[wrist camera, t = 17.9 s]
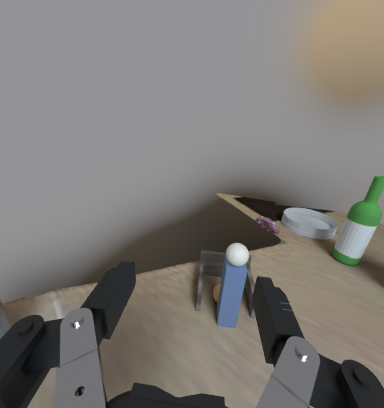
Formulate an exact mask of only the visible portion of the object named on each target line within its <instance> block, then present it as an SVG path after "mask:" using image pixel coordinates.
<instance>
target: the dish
mask: <svg viewBox="0 0 384 408" xmlns="http://www.w3.org/2000/svg"><path fill="white" fill-rule="evenodd" d="M281 222H282V224H283V225H284V226H285V227H286V228H287V229H289V230H290V231H292V232H294V233H297V234H299V235H302V236H305V237H309V238H313V239H331V238H333V237H334V235H335V233H336V229H337V226H338V224H337V222H336V221H335V220H334V219H332V218H331V217H329V216H327V215H325V214H323V213H320V212H317V211H313V210H309V209H304V208H288V209H286V210H285V211H284V214H283V216H282V220H281Z"/></svg>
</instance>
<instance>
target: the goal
mask: <svg viewBox="0 0 384 408" xmlns="http://www.w3.org/2000/svg"><path fill="white" fill-rule="evenodd" d="M225 256H226V253H222V252H213V251H204V250H201V258H200V269H199V280H198V291H197V302H196V310H197V311H200V305H201V296H202V280H203V275H208V276H217V277H222V272H223V265H224V259H225ZM250 262H251V256H250V255H249V258H248V261H247V262H246V263H245V264H246V268H247V276H246V281H245V285H244V286H245V292H246V297H247V302H248V307H249V312H250V317H251V318H255V311H254V307H253V291H254V287H255V285H254V282H253V278H252V274H251V270H250Z"/></svg>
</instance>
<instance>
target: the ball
mask: <svg viewBox="0 0 384 408" xmlns="http://www.w3.org/2000/svg"><path fill="white" fill-rule="evenodd" d="M220 285H221V283H219V284H217V285H216V286H215V287H214V289H213V297H214V299H215V301H216V302H217V303H218V298H219V291H220Z"/></svg>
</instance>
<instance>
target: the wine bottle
mask: <svg viewBox="0 0 384 408" xmlns="http://www.w3.org/2000/svg"><path fill="white" fill-rule="evenodd" d="M383 188H384V177H382V176H375V177H374V179H373V181H372V184H371V186H370V188H369V190H368V192H367V195H366V197H365V199H364V200H363V201H360V202H358V203H356V204H354V205H353V206H352V207H351V209H350V211H349V213H348V216H347V218H346V220H345V222H344V225H343V227H342V230H341V232H340V234H339V237H338V239H337V241H336V244H335V246H334V249H333V252H332V255H333V257H334V258H335V259H336V260H338V261H339V262H341V263H344V264H347V265H356V264H358V263H359V261H360V259H361V257H362V255H363V253H364V251H365V249H366V247H367V245H368V243H369V241H370V239H371V237H372V235H373V233H374V231H375V229H376V227H377V225H378V223H379V221H380V219H381V216H382V211H381V209H380V207H379V206H378V205H377V201H378V199H379V197H380V195H381V192H382V190H383Z"/></svg>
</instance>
